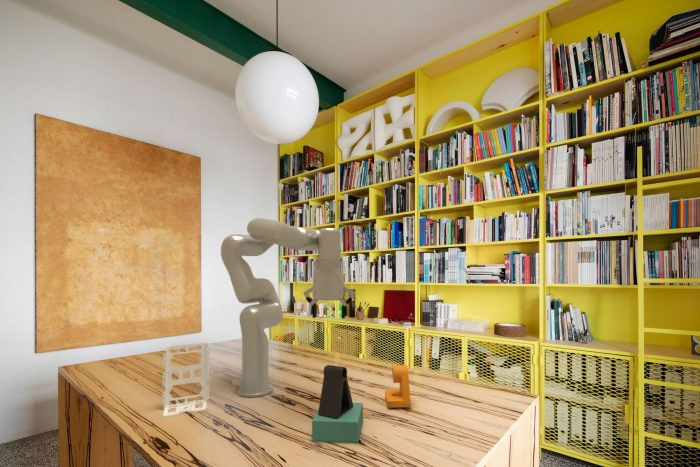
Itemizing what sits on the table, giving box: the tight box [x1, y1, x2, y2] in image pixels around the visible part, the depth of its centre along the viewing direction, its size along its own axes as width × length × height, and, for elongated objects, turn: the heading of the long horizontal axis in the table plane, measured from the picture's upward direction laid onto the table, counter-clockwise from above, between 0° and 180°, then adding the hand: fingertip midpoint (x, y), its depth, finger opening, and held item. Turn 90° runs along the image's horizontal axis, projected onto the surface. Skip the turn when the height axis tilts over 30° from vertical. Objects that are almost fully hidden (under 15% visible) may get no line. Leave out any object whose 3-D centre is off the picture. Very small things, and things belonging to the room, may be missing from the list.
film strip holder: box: [161, 342, 211, 418], centre depth 116 cm, size 14×14×20 cm
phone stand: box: [317, 364, 354, 419], centre depth 97 cm, size 9×6×12 cm, turn 150°
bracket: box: [384, 364, 412, 408], centre depth 114 cm, size 11×7×12 cm, turn 179°
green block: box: [311, 402, 364, 444], centre depth 96 cm, size 12×13×5 cm
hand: (329, 317), depth 113 cm, fingers open, 9 cm apart
